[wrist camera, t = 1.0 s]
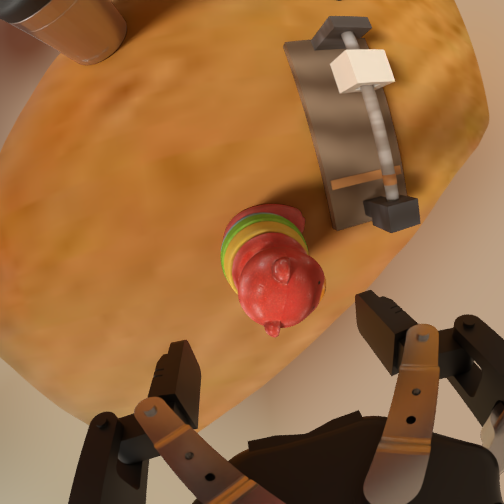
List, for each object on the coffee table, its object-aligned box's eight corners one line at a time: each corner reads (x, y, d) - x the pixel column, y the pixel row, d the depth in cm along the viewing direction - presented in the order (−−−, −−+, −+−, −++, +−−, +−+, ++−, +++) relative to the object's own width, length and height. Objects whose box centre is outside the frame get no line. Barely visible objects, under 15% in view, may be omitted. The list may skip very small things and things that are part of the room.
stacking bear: (286, 285, 39) (326, 366, 22) (214, 273, 38) (207, 354, 21) (307, 210, 36) (372, 247, 19) (231, 193, 35) (234, 216, 18)
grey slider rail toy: (283, 46, 29) (299, 15, 21) (360, 41, 29) (390, 17, 21) (333, 228, 37) (362, 246, 28) (403, 208, 37) (442, 220, 28)
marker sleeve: (329, 64, 27) (345, 49, 22) (364, 62, 27) (383, 49, 22) (339, 93, 28) (357, 83, 23) (374, 90, 28) (395, 81, 23)
